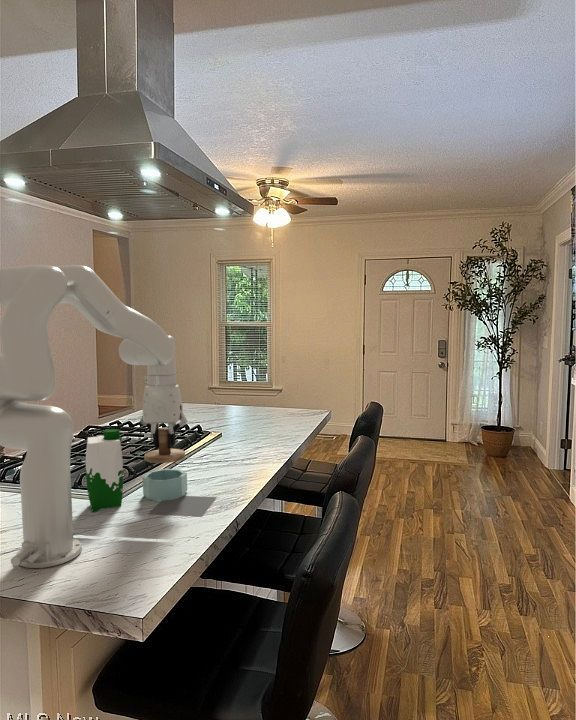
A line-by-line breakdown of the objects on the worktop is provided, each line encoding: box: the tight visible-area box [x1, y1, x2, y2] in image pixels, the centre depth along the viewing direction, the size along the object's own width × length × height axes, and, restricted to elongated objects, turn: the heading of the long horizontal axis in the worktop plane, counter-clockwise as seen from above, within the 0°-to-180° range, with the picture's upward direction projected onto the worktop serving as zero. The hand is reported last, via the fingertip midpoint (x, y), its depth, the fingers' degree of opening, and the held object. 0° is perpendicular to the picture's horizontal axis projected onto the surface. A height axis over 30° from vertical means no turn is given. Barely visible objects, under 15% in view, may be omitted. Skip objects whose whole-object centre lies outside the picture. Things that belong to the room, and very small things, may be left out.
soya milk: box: [85, 428, 124, 513], centre depth 140 cm, size 9×9×20 cm
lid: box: [143, 427, 186, 464], centre depth 147 cm, size 11×11×8 cm
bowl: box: [142, 468, 188, 502], centre depth 148 cm, size 11×11×6 cm
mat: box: [147, 495, 218, 518], centre depth 139 cm, size 14×14×1 cm
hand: (164, 446), depth 147 cm, fingers closed on lid, 3 cm apart
